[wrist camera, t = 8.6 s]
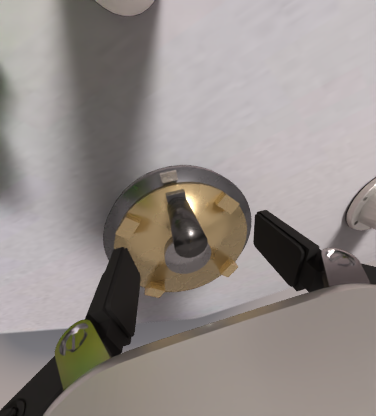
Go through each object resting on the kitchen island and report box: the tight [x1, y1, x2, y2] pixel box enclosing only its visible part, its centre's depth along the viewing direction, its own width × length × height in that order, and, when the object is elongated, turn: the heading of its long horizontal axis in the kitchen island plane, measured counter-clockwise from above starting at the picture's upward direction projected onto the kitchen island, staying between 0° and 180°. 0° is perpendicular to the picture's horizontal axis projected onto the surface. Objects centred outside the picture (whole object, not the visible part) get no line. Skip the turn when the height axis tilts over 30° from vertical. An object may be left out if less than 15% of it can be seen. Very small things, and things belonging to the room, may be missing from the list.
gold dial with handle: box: [114, 182, 247, 298], centre depth 17 cm, size 18×18×8 cm
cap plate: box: [103, 165, 251, 287], centre depth 22 cm, size 21×21×3 cm
